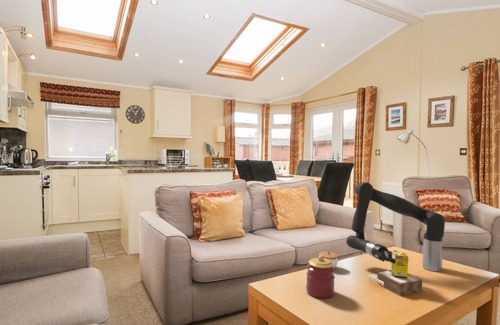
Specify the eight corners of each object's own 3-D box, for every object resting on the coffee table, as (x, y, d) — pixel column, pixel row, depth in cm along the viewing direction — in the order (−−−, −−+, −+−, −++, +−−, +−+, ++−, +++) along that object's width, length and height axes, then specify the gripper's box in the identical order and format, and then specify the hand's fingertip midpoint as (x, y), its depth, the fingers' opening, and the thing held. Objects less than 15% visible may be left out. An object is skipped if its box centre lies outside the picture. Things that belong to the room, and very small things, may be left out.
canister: (300, 288, 144) (301, 252, 144) (322, 284, 149) (323, 249, 149) (316, 301, 132) (318, 262, 132) (340, 296, 137) (341, 258, 137)
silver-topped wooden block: (397, 280, 157) (398, 268, 157) (421, 291, 144) (422, 279, 144) (377, 283, 152) (377, 272, 152) (400, 296, 139) (400, 283, 139)
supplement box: (407, 278, 145) (408, 256, 144) (394, 277, 146) (395, 255, 146) (403, 273, 150) (404, 252, 150) (391, 272, 152) (391, 251, 151)
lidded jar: (323, 263, 180) (323, 247, 180) (340, 267, 174) (341, 251, 173) (315, 268, 171) (316, 252, 171) (334, 272, 165) (334, 256, 165)
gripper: (366, 244, 159) (390, 254, 144) (386, 242, 165) (412, 251, 150) (365, 258, 160) (390, 269, 145) (386, 256, 165) (411, 266, 150)
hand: (401, 260), depth 147 cm, fingers open, 8 cm apart
